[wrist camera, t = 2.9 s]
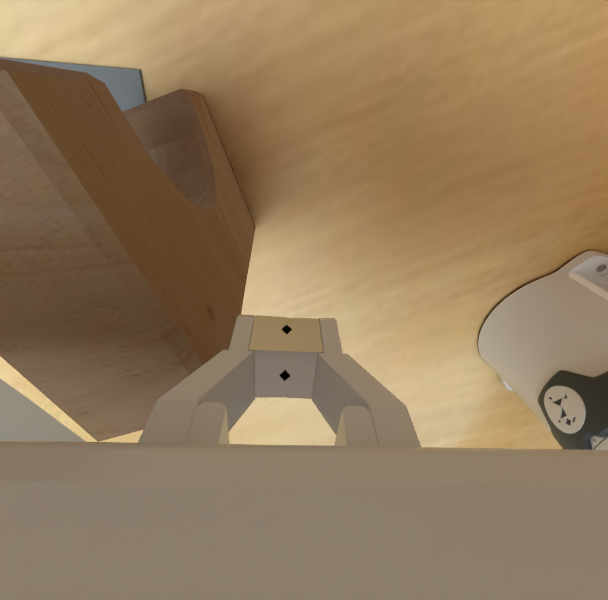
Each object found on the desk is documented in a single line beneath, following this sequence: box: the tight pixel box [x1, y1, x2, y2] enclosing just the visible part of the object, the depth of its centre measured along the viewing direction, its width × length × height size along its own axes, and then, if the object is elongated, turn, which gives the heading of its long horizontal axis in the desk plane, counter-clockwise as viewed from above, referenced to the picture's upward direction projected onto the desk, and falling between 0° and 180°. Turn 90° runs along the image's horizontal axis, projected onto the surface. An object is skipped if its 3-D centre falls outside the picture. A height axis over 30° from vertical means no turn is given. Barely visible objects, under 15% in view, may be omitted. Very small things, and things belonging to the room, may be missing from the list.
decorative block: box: [0, 59, 255, 442], centre depth 17 cm, size 11×6×20 cm, turn 15°
